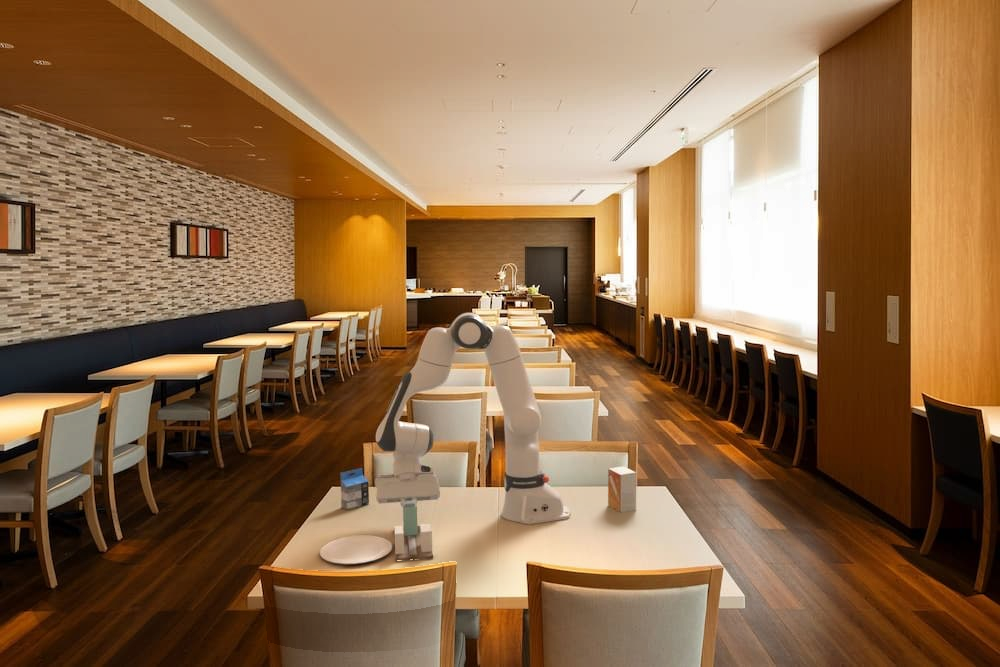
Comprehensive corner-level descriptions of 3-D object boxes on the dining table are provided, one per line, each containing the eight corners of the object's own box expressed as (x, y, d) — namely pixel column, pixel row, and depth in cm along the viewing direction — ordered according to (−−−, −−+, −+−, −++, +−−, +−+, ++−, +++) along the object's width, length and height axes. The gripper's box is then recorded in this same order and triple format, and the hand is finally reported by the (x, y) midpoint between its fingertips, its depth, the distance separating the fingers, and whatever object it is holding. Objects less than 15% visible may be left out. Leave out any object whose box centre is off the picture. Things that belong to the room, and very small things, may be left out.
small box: (607, 505, 256) (607, 468, 255) (623, 502, 259) (623, 465, 257) (620, 512, 249) (620, 474, 247) (636, 510, 251) (636, 472, 250)
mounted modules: (430, 543, 222) (430, 523, 222) (432, 551, 216) (431, 531, 216) (394, 546, 221) (394, 526, 220) (395, 554, 215) (394, 533, 214)
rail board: (427, 528, 237) (427, 524, 237) (433, 558, 214) (432, 554, 213) (393, 530, 235) (393, 526, 235) (395, 561, 212) (395, 557, 212)
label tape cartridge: (346, 510, 255) (345, 475, 253) (341, 507, 258) (339, 472, 256) (369, 504, 260) (368, 469, 259) (363, 501, 263) (362, 467, 262)
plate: (346, 536, 232) (346, 531, 232) (405, 545, 224) (405, 540, 224) (304, 562, 213) (304, 556, 213) (367, 573, 205) (367, 567, 205)
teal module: (416, 527, 233) (415, 497, 232) (417, 534, 228) (416, 504, 227) (403, 528, 233) (402, 498, 232) (404, 535, 227) (403, 505, 226)
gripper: (374, 470, 240) (375, 510, 232) (438, 467, 244) (441, 506, 235) (375, 480, 245) (376, 519, 237) (437, 476, 248) (440, 515, 240)
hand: (409, 513), depth 236 cm, fingers closed
